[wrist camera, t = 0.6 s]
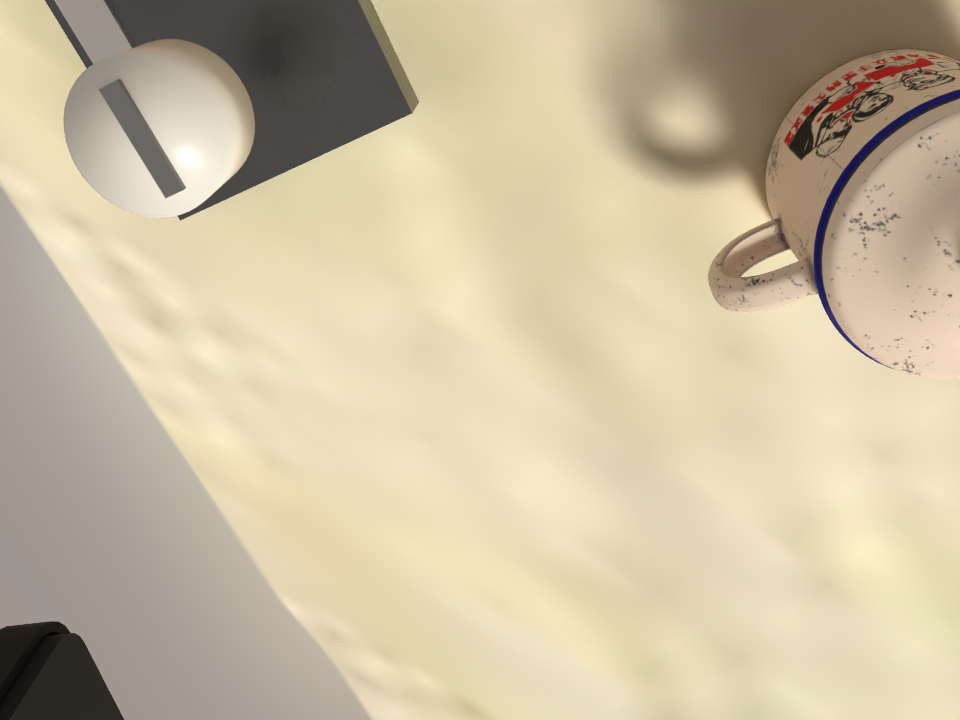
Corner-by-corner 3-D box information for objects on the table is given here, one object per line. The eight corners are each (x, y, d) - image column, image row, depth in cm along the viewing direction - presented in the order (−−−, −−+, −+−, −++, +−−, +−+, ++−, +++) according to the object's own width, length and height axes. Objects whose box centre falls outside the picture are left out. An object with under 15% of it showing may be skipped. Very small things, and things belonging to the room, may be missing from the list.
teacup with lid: (979, -5, 32) (1189, 43, 22) (1028, 226, 35) (1228, 362, 25) (650, 135, 35) (696, 237, 24) (726, 336, 38) (793, 500, 28)
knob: (112, 64, 29) (27, 98, 24) (229, 3, 28) (164, 25, 23) (187, 189, 31) (121, 243, 26) (301, 136, 30) (254, 182, 25)
